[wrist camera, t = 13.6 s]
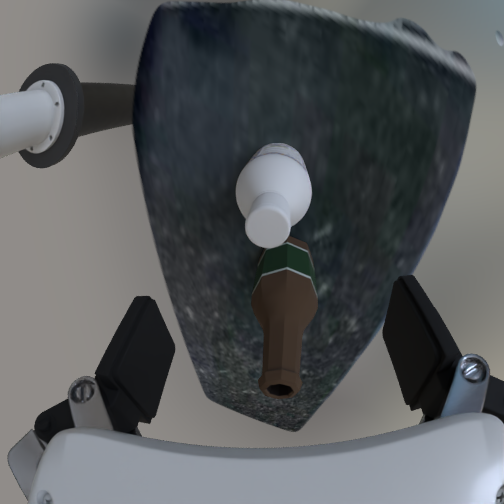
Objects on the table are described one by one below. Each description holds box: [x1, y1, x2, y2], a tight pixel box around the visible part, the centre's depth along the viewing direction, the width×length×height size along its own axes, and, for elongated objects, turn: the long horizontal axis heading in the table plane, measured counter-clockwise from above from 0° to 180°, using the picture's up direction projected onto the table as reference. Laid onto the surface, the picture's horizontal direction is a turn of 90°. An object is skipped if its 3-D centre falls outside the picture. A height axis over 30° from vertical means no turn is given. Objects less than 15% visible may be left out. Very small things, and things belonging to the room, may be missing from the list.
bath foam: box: [236, 143, 312, 248], centre depth 26 cm, size 7×7×20 cm
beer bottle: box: [251, 236, 318, 399], centre depth 31 cm, size 8×8×24 cm
